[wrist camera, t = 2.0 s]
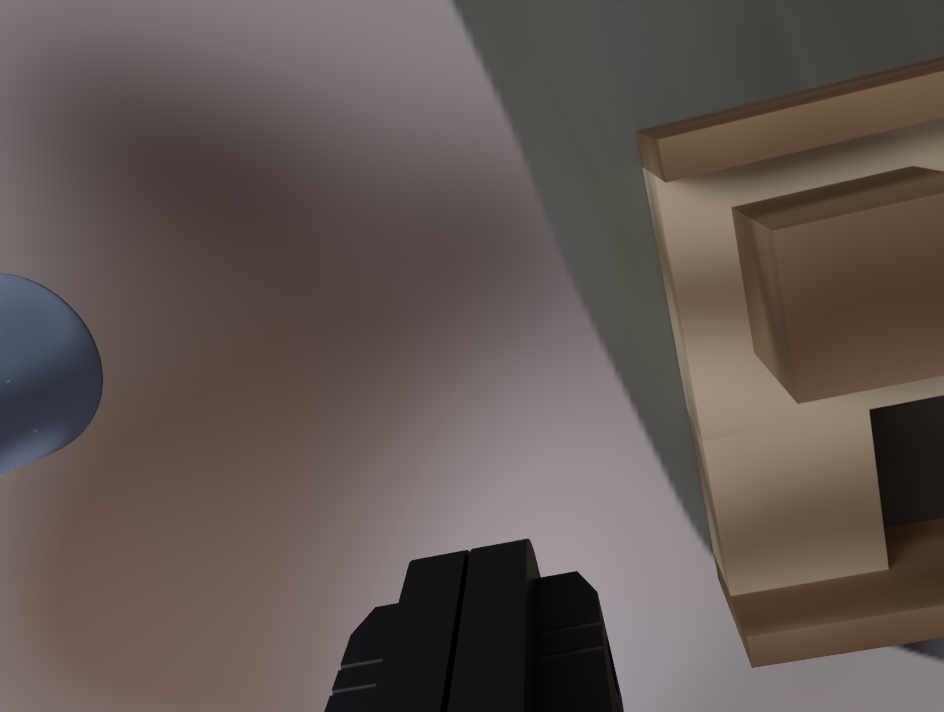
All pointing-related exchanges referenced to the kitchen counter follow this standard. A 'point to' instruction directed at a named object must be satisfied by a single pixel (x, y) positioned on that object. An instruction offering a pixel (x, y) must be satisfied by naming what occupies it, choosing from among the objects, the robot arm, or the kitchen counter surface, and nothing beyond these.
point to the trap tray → (773, 409)
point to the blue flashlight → (43, 373)
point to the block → (847, 282)
